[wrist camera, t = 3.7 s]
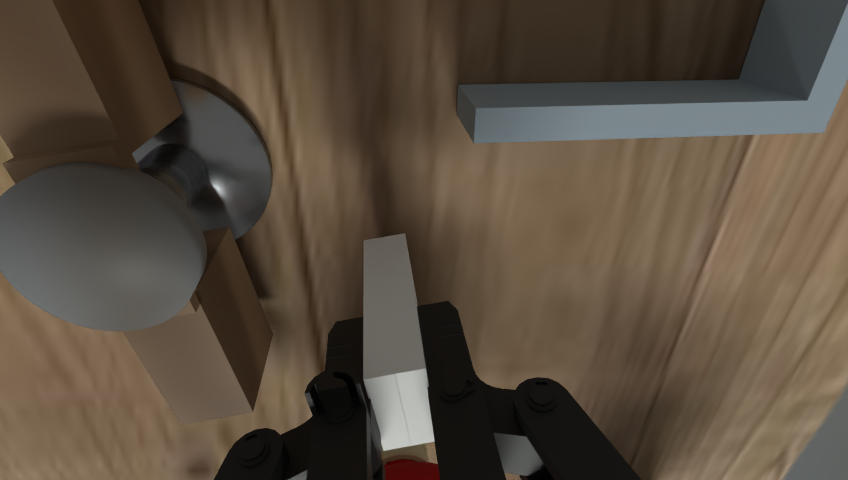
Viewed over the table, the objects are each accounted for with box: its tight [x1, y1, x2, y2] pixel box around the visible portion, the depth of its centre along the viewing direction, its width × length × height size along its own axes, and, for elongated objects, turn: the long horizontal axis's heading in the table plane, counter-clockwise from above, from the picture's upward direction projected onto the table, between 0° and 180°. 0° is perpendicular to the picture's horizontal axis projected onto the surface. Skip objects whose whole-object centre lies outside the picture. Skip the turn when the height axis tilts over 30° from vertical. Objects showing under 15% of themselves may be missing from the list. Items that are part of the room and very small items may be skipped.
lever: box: [0, 0, 273, 425], centre depth 12 cm, size 4×17×5 cm, turn 8°
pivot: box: [132, 77, 273, 239], centre depth 14 cm, size 6×6×4 cm
